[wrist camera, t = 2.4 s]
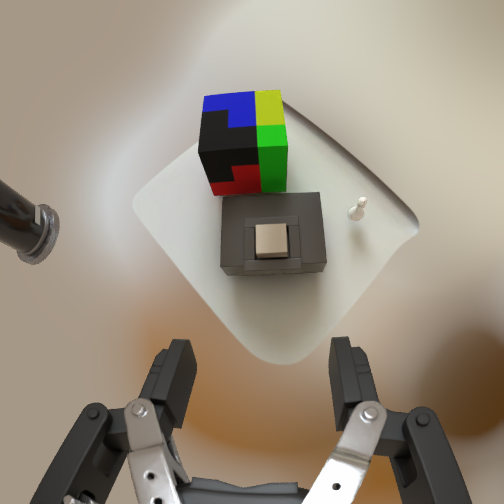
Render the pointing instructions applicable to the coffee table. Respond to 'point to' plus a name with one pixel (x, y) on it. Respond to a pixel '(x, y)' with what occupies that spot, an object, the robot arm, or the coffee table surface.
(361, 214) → the chess pawn
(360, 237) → the coffee table surface
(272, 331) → the coffee table surface
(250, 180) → the puzzle toy
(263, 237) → the beige push button
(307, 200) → the dark grey block
